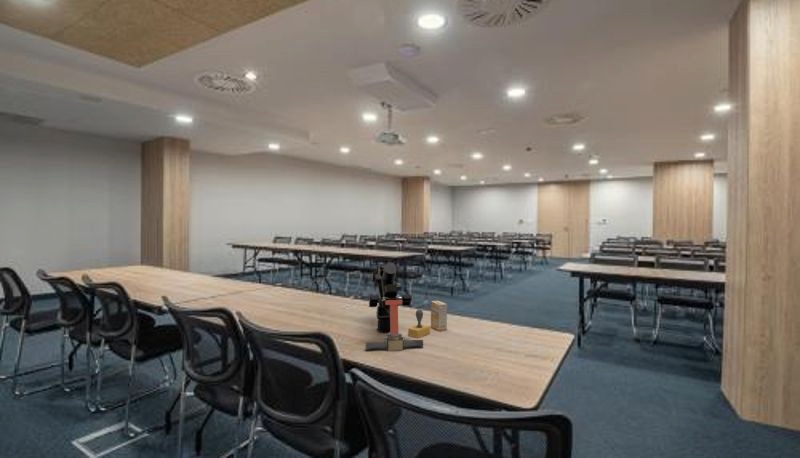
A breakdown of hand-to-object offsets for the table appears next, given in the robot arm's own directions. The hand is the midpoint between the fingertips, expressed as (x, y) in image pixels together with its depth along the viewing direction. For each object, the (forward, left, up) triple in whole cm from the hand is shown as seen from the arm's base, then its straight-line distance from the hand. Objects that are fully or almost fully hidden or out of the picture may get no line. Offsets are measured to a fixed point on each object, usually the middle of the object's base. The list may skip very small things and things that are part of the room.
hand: (392, 317), depth 167 cm
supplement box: (-32, -8, -12) cm, 35 cm away
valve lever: (+2, +5, -6) cm, 9 cm away
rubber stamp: (-18, -5, -12) cm, 22 cm away
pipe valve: (+2, +5, -12) cm, 13 cm away
